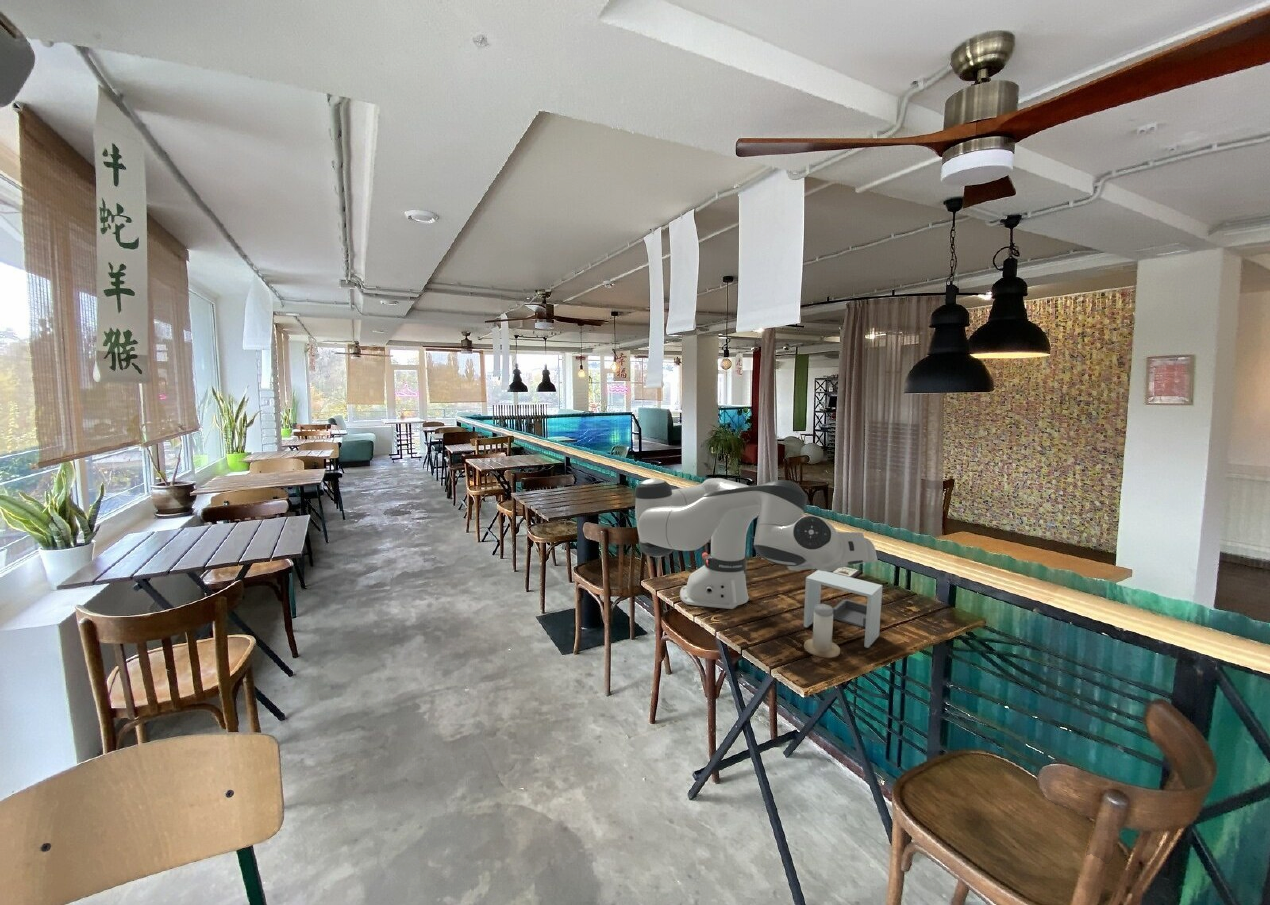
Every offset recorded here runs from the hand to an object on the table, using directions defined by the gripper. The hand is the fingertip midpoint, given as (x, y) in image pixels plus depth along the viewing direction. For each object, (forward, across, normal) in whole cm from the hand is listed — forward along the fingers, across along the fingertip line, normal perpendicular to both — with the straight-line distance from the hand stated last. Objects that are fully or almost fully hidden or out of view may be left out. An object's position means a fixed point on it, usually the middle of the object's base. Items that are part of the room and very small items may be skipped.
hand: (834, 563), depth 126 cm
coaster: (+17, -9, -18) cm, 26 cm away
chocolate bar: (+69, -6, +11) cm, 70 cm away
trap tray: (+38, -1, -8) cm, 39 cm away
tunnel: (+28, -5, -13) cm, 31 cm away
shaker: (+16, -9, -18) cm, 25 cm away
